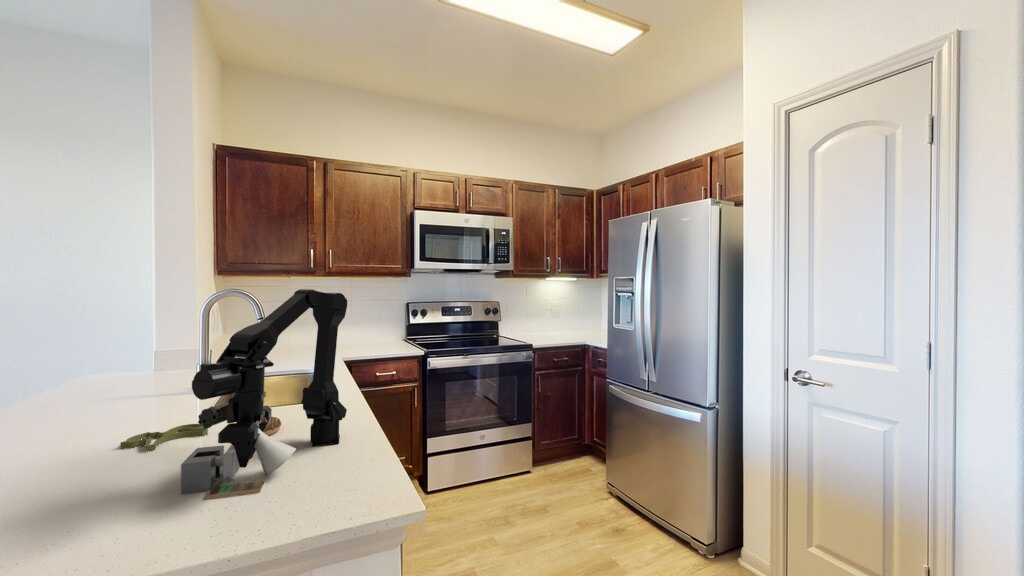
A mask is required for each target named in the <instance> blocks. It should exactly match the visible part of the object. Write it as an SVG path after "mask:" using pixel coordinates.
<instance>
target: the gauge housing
mask: <svg viewBox="0 0 1024 576" xmlns="http://www.w3.org/2000/svg"><path fill="white" fill-rule="evenodd" d="M224 454H225V445H215V446H205V447H196V448H195V450H194V451H193V452H192V453H190V454H189V455H188V457H187V458H185V460H184V461H182V463H181V465H180V495H189V494H195V493H202V492H208V493H207V495H206V500H213V499H219V498H220V499H221V498H227V497H235V496H242V495H251V494H256V493H257V494H258V493H259V494H260V493H261V491H262V489H263V488H264V485H265V479H261V480H260V479H259V480H252V481H251V480H250V481H246V482H245V481H244V482H238V483H236V482H235V483H234V482H233V483H227V484H226V485H225V487H224V488H220V486H221V485H216V479H220V478H221V477H222V476H223V466H215V456H224Z"/></svg>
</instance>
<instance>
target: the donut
mask: <svg viewBox="0 0 1024 576" xmlns="http://www.w3.org/2000/svg"><path fill="white" fill-rule="evenodd" d="M262 422H268V425H267V426H266V429H265V431H264V433H265V434H266V435H268V436H269V437H270V436H271V435H274V434H276V433H277V432H279V431H280V428H281V426H282V421H281V420H280V418H279V417H276V416H271V418H270V420H266V417H263V418H262V419H261V423H262Z"/></svg>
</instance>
